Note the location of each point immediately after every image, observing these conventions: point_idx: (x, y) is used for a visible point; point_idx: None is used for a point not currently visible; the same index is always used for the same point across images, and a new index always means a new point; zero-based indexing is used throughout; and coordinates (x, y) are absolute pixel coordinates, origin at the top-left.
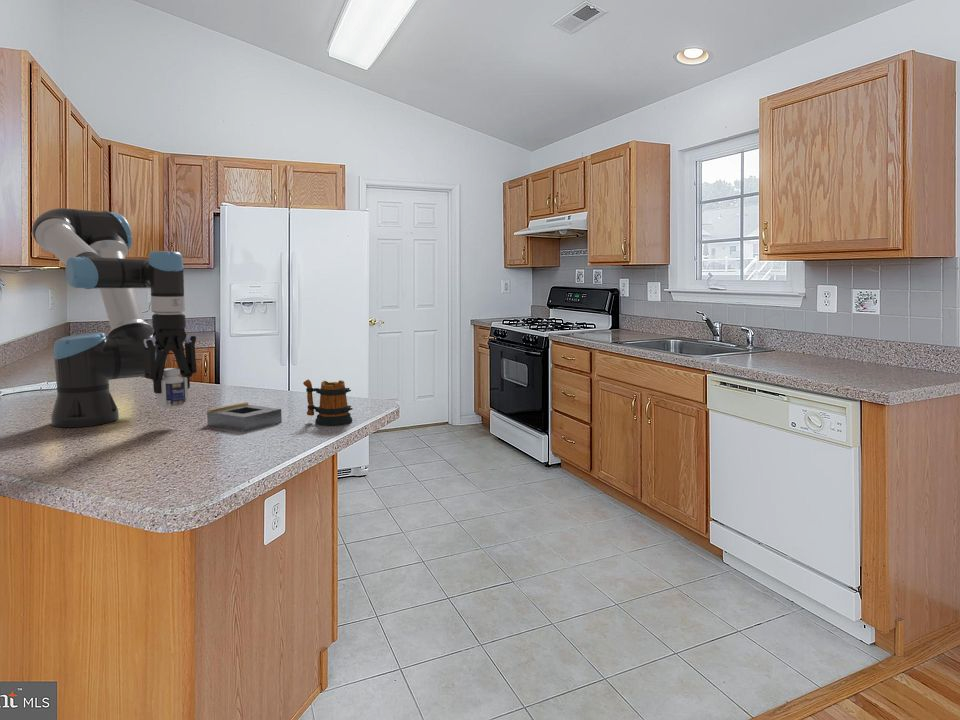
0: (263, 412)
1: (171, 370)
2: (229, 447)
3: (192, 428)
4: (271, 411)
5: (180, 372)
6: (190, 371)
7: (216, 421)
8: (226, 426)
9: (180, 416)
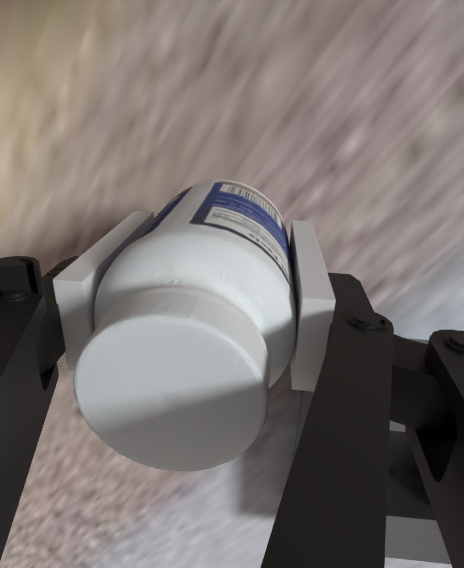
0: (395, 551)
1: (123, 454)
2: (130, 563)
3: None
4: (427, 560)
5: (333, 334)
6: (399, 411)
7: (305, 394)
8: (297, 432)
9: (436, 10)
